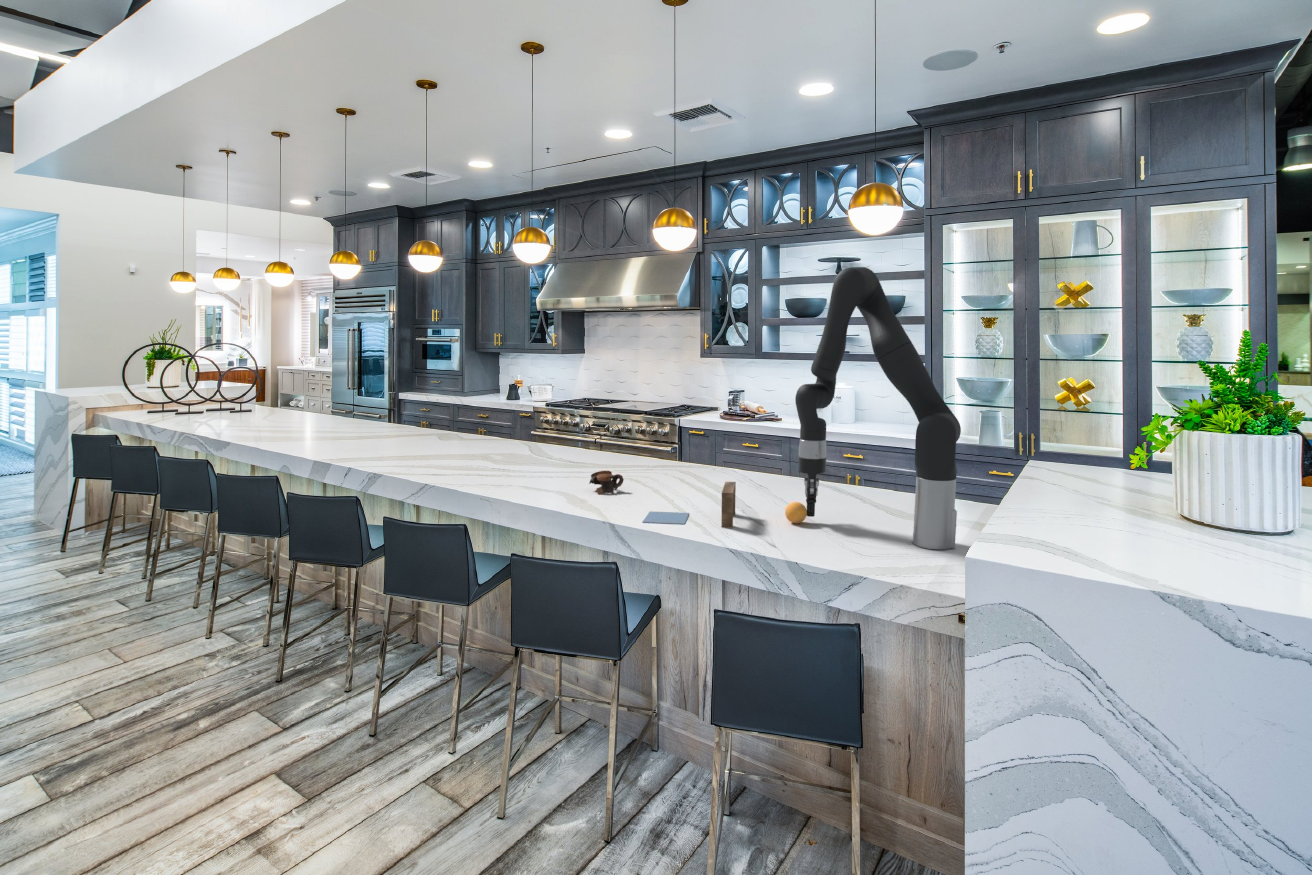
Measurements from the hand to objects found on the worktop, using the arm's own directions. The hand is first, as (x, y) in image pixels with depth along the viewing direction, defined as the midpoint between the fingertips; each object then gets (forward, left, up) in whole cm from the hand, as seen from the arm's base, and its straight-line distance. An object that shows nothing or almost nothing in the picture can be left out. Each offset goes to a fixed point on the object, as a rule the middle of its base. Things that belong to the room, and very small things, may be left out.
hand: (810, 515), depth 193 cm
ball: (+4, +1, +1) cm, 4 cm away
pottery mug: (+67, -31, -2) cm, 74 cm away
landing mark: (+41, +1, -2) cm, 41 cm away
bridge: (+23, +1, -2) cm, 23 cm away
